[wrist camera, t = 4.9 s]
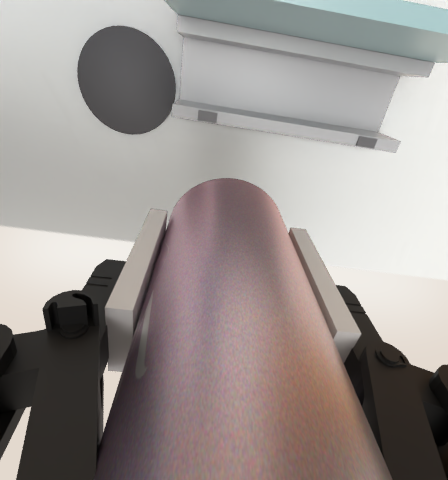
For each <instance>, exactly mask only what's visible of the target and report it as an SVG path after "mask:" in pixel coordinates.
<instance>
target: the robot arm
mask: <svg viewBox="0 0 448 480" xmlns="http://www.w3.org/2000/svg"><path fill="white" fill-rule="evenodd" d="M166 220H167V211H164V210H157V209H150V211H149V214H148V216H147V218H146V220H145V222H144V224H143V226H142V229H141V231H140V233H139V235H138V237H137V239H136V242H135V244H134V246H133V248H132V250H131V252H130V255H129V257H128V259H127V261H126V262H125V261H116V260H108V259H106V260H105V261H103V262H102V263H101V264H99V265H98V266H97V267H96V268H95V270H94V271H93V273H92V275H91V277H90V278H89V279H88V281H87V284H86V285H85V286H84V288H83V290H82V291H79V290H72V291H67V292H62V293H61V294H58V295H56V296H54V297H52V298H51V299H50V300H49V301H47V302H46V304H45V306H44V307H43V314H44V319H45V325H46V329H44V330H40V331H36V332H29V333H22V334H15V335H13V334H12V330H11V329H10V328H8V327H7V326H6V325H2V324H0V459H1V457H2V455H3V453H4V451H5V449H6V447H7V445H8V443H9V441H10V439H11V437H12V435H13V433H14V431H15V429H16V427H17V425H18V423H19V421H20V418H21V416H22V414H23V412H24V410H25V408H26V407H31V411H30V416H29V421H28V425H27V430H26V435H25V440H24V445H23V450H22V454H21V459H20V464H19V469H18V474H17V478H16V480H94V477H95V473H96V465H97V455H98V449H99V445H100V442H101V439H102V436H103V391H104V389H103V388H104V387H103V386H104V383H103V373H104V370H105V367H106V365H107V362H108V371H120V372H122V371H123V368H124V365H125V362H126V358H127V355H128V352H129V349H130V345H131V342H132V339H133V336H134V333H135V329H136V326H137V323H138V320H139V317H140V313H141V310H142V307H143V304H144V300H145V297H146V294H147V291H148V288H149V284H150V281H151V278H152V275H153V271H154V268H155V265H156V262H157V259H158V255H159V252H160V249H161V246H162V242H163V239H164V236H165V233H166ZM289 236H290V238H291V241H292V243H293V245H294V248H295V250H296V252H297V255H298V257H299V260H300V262H301V264H302V267H303V269H304V271H305V274H306V276H307V278H308V281H309V283H310V286H311V288H312V290H313V293H314V295H315V297H316V300H317V302H318V305H319V307H320V309H321V312H322V314H323V316H324V319H325V321H326V323H327V326H328V328H329V331H330V333H331V335H332V338H333V340H334V342H335V345H336V347H337V349H338V352H339V354H340V357H341V359H342V361H343V364H344V366H345V368H346V371H347V373H348V375H349V378H350V380H351V383H352V385H353V387H354V390H355V392H356V394H357V397H358V399H359V401H360V404H361V406H362V409H363V411H364V413H365V416H366V418H367V420H368V423H369V425H370V427H371V430H372V432H373V435H374V437H375V439H376V442H377V444H378V446H379V449H380V451H381V454H382V456H383V458H384V461H385V463H386V465H387V468H388V470H389V472H390V475H391V477H392V480H448V365H442V366H441V367H439V368H438V369H437V371H436V372H435V373H433V372H430V371H427V370H425V369H422V368H419V367H416V366H413V365H411V364H410V363H409V361H408V359H407V358H406V357H405V356H404V355H403V354H402V353H401V351H399V350H398V349H397V348H395V347H394V346H392V345H390V344H388V343H385V342H383V341H382V339H381V337H380V336H379V334H378V332H377V331H376V329H375V327H374V326H373V324H372V322H371V321H370V319H369V317H368V316H367V315H366V314H365V313H366V312H365V311H364V309H363V307H361V304H360V302H359V301H358V299H357V297H356V296H355V294H353V293H352V292H351V291H350V290H349V289H348V288H347V287H345V286H339V285H335V283H334V281H333V280H332V278H331V276H330V274H329V272H328V270H327V268H326V266H325V265H324V263H323V261H322V259H321V257H320V255H319V253H318V252H317V250H316V248H315V246H314V244H313V242H312V240H311V238H310V237H309V235H308V233H307V231H306V229H299V228H290V231H289Z"/></svg>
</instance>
